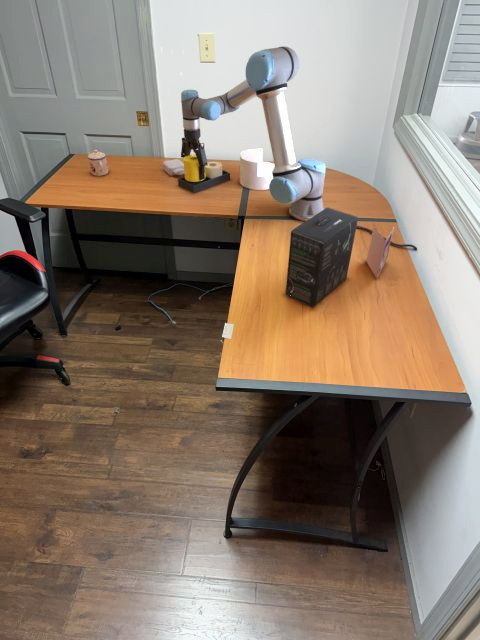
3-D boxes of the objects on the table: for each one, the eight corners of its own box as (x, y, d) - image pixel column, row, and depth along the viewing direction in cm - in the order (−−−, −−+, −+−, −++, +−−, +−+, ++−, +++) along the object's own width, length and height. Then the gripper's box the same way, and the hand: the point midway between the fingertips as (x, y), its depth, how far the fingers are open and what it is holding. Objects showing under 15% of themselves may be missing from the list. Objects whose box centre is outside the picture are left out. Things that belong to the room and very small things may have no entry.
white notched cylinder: (277, 191, 210) (279, 163, 202) (236, 188, 213) (236, 161, 204) (281, 175, 225) (282, 149, 217) (243, 172, 228) (243, 147, 219)
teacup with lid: (89, 171, 229) (84, 149, 221) (106, 168, 232) (102, 146, 225) (95, 179, 221) (90, 156, 213) (112, 176, 224) (108, 153, 217)
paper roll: (226, 178, 220) (225, 164, 216) (212, 183, 216) (211, 169, 211) (214, 173, 226) (213, 160, 221) (200, 178, 221) (199, 164, 216)
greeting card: (379, 279, 153) (388, 241, 144) (358, 273, 156) (366, 236, 146) (387, 263, 161) (396, 227, 151) (367, 258, 164) (375, 222, 154)
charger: (174, 180, 220) (163, 170, 230) (190, 176, 224) (179, 167, 234) (173, 171, 217) (162, 161, 227) (190, 167, 220) (178, 158, 230)
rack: (230, 179, 221) (230, 172, 218) (193, 193, 208) (193, 186, 206) (214, 173, 227) (214, 166, 225) (178, 185, 215) (177, 178, 213)
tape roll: (205, 173, 216) (204, 154, 210) (205, 181, 208) (204, 161, 202) (185, 173, 216) (184, 154, 210) (184, 181, 208) (182, 162, 202)
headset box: (318, 266, 159) (328, 200, 143) (347, 278, 154) (361, 210, 137) (283, 295, 146) (289, 225, 129) (314, 309, 140) (324, 238, 124)
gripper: (214, 132, 193) (216, 180, 207) (183, 121, 205) (186, 167, 220) (201, 135, 189) (204, 185, 203) (170, 124, 202) (174, 171, 216)
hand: (195, 176), depth 211 cm, fingers closed on tape roll, 10 cm apart
